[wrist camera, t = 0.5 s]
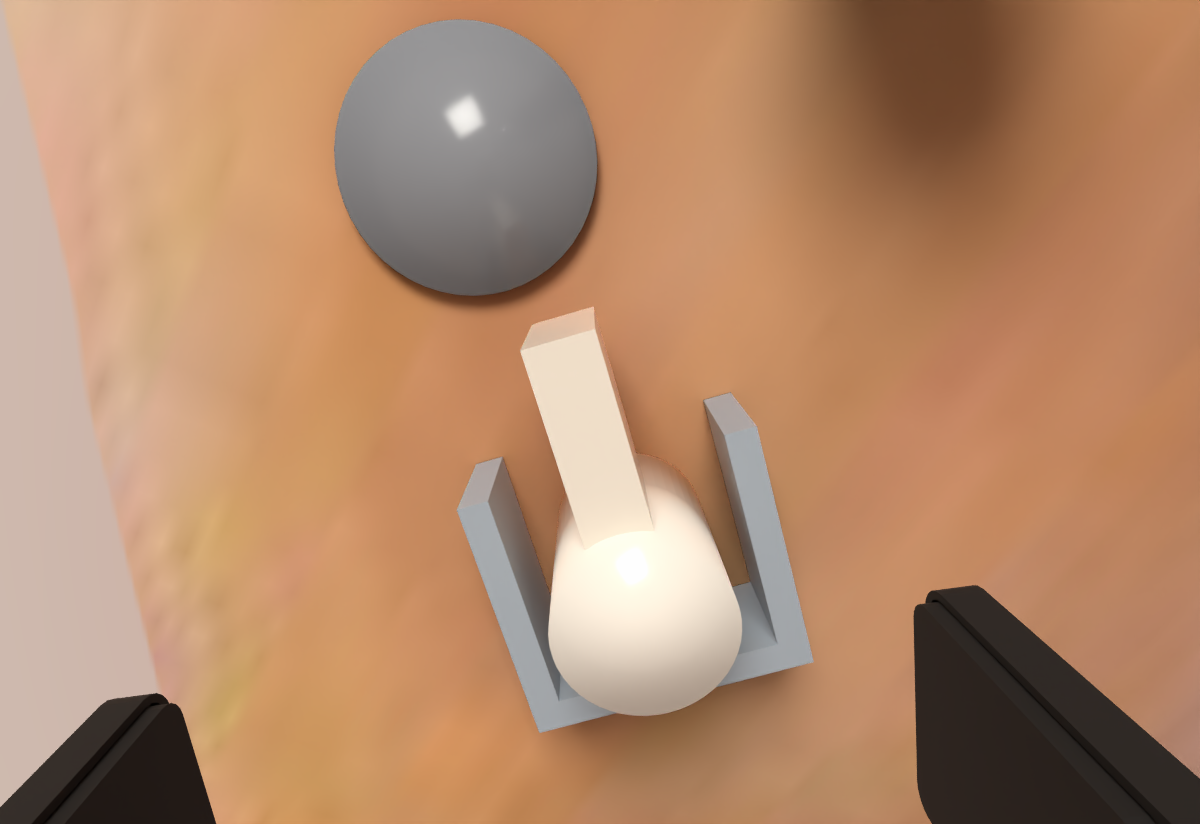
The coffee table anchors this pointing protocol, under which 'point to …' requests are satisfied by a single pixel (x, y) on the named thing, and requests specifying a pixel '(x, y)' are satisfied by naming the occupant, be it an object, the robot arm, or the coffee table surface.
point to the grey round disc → (465, 157)
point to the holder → (525, 598)
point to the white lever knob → (624, 543)
